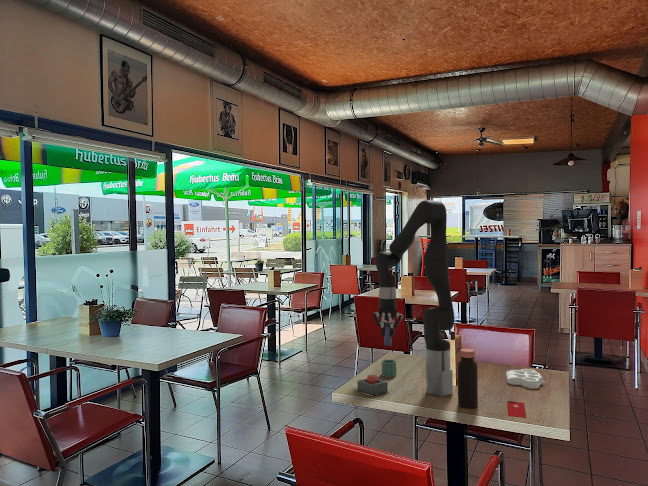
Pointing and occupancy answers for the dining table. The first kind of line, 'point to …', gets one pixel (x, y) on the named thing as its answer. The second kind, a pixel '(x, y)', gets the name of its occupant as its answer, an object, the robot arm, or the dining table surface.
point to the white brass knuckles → (525, 378)
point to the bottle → (467, 380)
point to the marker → (387, 333)
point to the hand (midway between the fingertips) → (387, 336)
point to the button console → (372, 387)
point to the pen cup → (389, 368)
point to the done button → (371, 379)
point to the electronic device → (516, 409)
